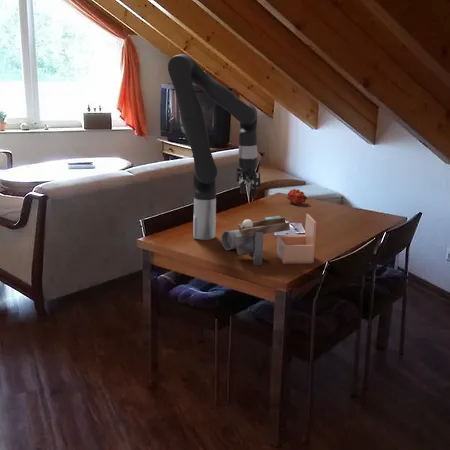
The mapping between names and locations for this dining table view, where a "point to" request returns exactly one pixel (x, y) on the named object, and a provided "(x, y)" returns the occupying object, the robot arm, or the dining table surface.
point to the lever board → (267, 226)
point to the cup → (298, 245)
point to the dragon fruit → (296, 196)
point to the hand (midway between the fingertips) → (248, 195)
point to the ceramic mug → (229, 239)
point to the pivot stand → (257, 247)
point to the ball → (247, 224)
